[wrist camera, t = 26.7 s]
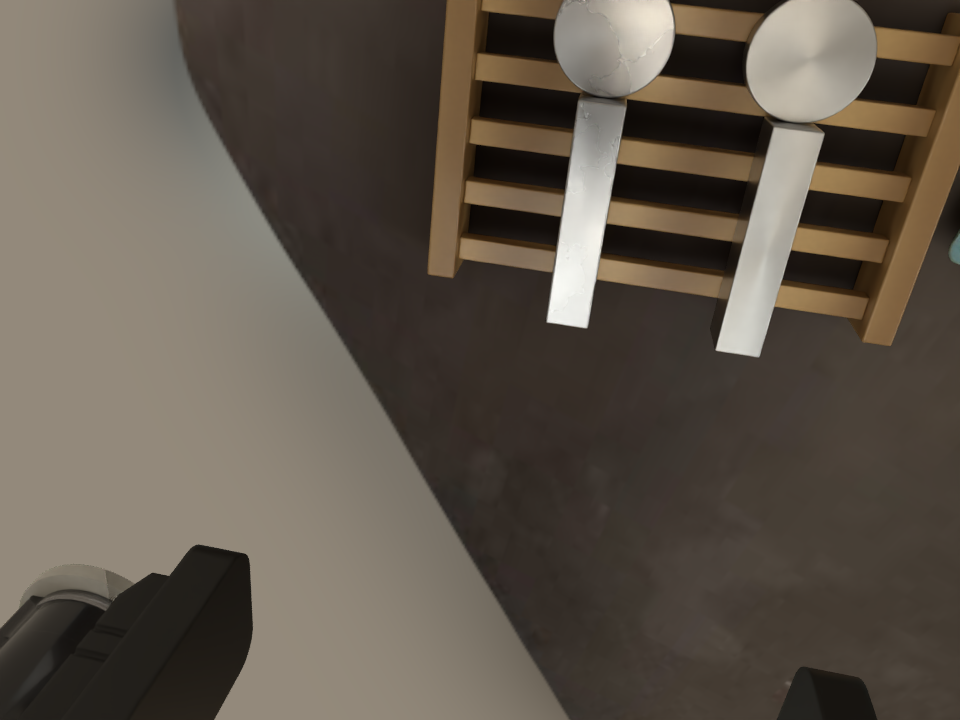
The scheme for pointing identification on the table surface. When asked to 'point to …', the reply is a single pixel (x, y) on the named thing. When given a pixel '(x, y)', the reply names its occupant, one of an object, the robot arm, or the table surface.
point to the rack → (702, 166)
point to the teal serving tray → (955, 249)
